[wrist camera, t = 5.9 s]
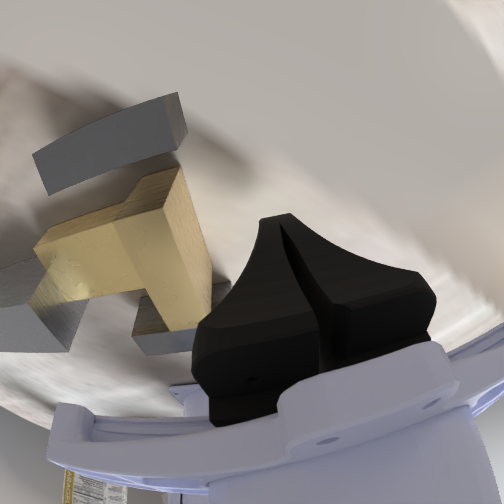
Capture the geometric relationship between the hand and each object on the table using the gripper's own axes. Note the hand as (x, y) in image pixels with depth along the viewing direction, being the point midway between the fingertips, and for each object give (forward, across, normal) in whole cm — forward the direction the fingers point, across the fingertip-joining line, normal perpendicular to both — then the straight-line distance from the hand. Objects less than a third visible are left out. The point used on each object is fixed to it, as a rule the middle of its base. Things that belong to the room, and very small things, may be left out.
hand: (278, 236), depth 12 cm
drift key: (+3, +8, 0) cm, 9 cm away
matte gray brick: (+3, +18, +2) cm, 18 cm away
